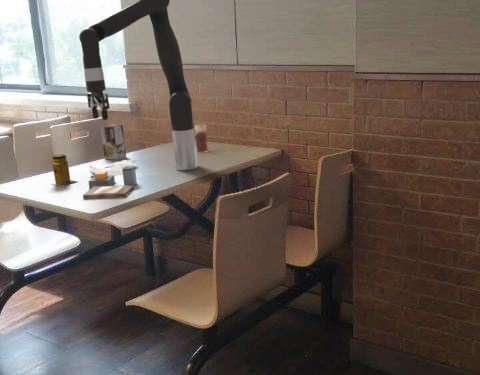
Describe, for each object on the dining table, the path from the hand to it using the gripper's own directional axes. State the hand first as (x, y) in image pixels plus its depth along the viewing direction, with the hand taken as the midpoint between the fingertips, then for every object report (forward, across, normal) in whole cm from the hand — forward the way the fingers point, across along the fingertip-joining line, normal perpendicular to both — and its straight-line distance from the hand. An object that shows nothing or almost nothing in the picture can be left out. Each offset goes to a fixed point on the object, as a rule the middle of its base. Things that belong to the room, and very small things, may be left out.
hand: (100, 119), depth 244 cm
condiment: (+25, +8, +16) cm, 31 cm away
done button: (+23, -9, +8) cm, 26 cm away
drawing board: (+25, -23, +12) cm, 36 cm away
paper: (+26, +11, -7) cm, 29 cm away
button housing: (+25, -9, +8) cm, 28 cm away
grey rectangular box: (+25, -18, 0) cm, 31 cm away
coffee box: (+25, +35, -22) cm, 48 cm away
